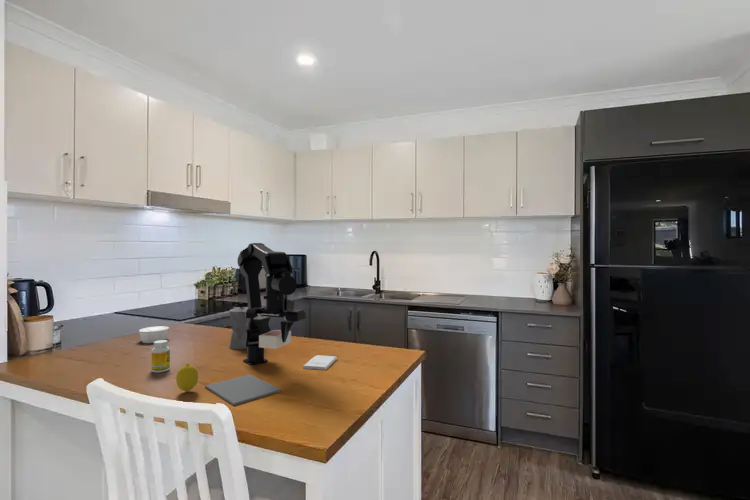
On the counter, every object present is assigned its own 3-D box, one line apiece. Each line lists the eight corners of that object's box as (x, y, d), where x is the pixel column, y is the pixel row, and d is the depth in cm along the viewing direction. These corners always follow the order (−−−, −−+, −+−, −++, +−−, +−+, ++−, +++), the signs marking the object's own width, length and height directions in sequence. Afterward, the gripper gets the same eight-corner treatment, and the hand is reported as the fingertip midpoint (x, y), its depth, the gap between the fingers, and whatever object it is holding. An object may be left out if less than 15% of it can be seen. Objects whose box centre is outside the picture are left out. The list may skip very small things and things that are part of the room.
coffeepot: (259, 347, 158) (259, 303, 158) (236, 352, 151) (237, 305, 151) (242, 340, 169) (242, 299, 169) (220, 344, 162) (220, 301, 162)
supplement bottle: (152, 369, 130) (152, 340, 130) (170, 366, 132) (170, 338, 132) (150, 373, 125) (150, 344, 125) (169, 371, 127) (169, 342, 127)
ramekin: (132, 343, 163) (132, 330, 163) (152, 337, 174) (152, 325, 174) (156, 344, 162) (156, 332, 161) (174, 338, 173) (174, 326, 173)
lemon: (181, 388, 112) (181, 361, 112) (201, 388, 113) (201, 360, 113) (172, 396, 107) (172, 367, 107) (193, 395, 107) (193, 366, 107)
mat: (205, 387, 113) (205, 385, 113) (249, 376, 123) (249, 374, 123) (233, 405, 101) (233, 403, 101) (280, 391, 111) (280, 389, 111)
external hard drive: (336, 360, 142) (325, 371, 130) (315, 359, 144) (302, 369, 132) (336, 356, 142) (326, 366, 130) (315, 355, 144) (302, 365, 132)
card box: (258, 347, 120) (259, 335, 120) (274, 340, 128) (274, 329, 128) (276, 348, 118) (276, 336, 118) (291, 341, 126) (291, 330, 126)
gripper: (313, 290, 128) (313, 337, 128) (264, 288, 134) (264, 333, 134) (296, 294, 117) (296, 346, 117) (244, 291, 123) (244, 341, 123)
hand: (275, 341), depth 123 cm, fingers closed on card box, 6 cm apart
